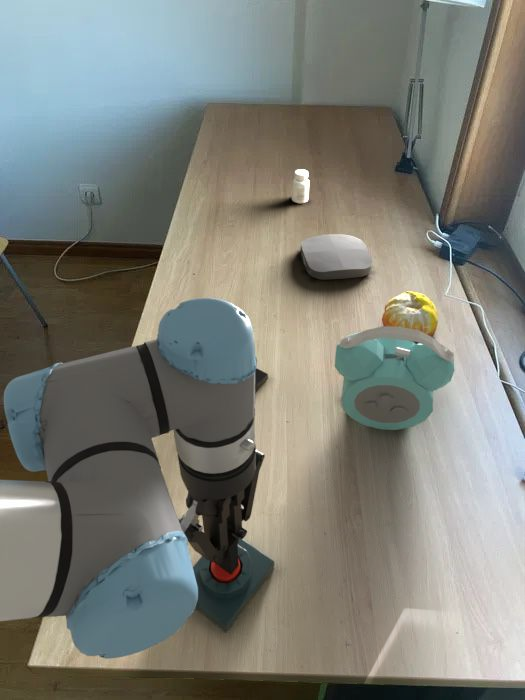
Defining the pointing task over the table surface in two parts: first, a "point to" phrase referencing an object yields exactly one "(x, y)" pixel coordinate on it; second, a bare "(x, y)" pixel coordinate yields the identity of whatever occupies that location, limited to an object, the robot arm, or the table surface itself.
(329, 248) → the media streaming box
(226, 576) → the button
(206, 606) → the button box
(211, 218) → the table surface
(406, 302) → the fruit
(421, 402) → the alarm clock
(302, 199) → the pill bottle
